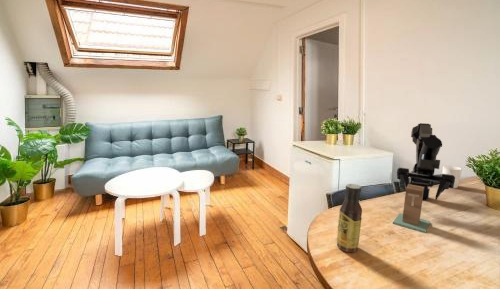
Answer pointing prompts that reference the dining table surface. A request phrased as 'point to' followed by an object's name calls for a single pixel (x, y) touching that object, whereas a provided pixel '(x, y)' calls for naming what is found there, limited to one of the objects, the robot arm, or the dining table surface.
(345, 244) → the sauce bottle
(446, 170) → the white cup
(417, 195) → the letter block
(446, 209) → the dining table surface
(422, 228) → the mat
